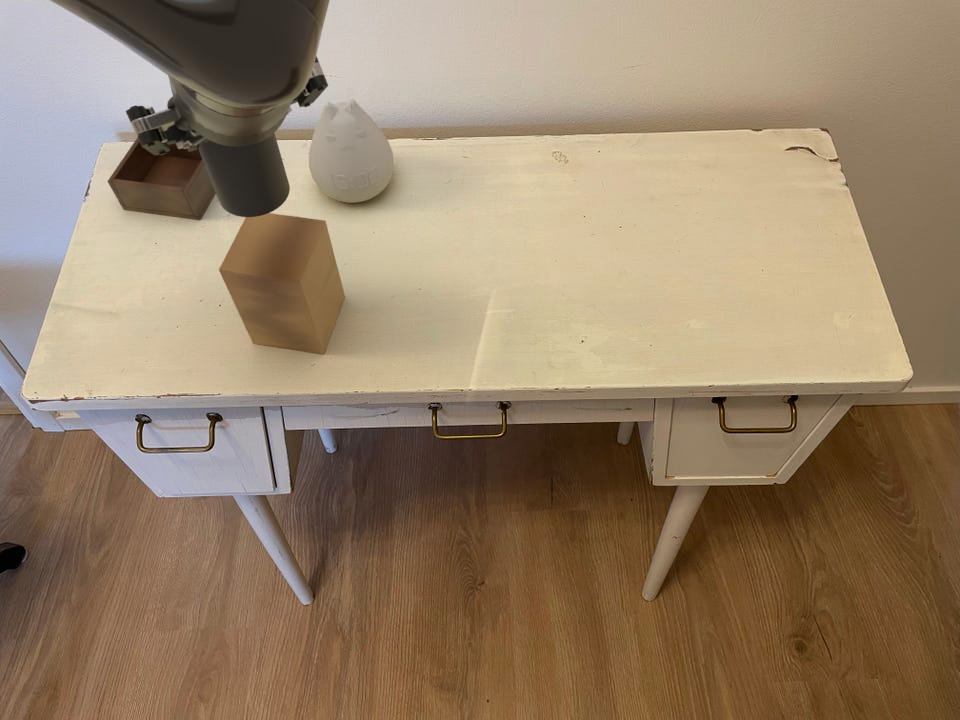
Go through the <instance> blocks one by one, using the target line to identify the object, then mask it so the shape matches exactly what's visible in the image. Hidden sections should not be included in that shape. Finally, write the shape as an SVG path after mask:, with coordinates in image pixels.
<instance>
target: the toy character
mask: <svg viewBox="0 0 960 720" xmlns="http://www.w3.org/2000/svg"><path fill="white" fill-rule="evenodd" d="M317 121H318V122H317V123H316V126H315V129H314V132H313V135H312V138H311V142H310V146H309V150H308V168H309V172H310V174H311V178H312V180H313V181H314V183H315V184H316V186H317V187H318V188H319V190H320V191H321V192H322V193H323V194H324V195H326V196H327V197H329V198H331V199H334V200H335V201H339V202H341V203H342V202H343V203H351V204H352V203H361V202H366V201H368V200H372V199H373V198H375V197H376V196H378V195H379V194H380V193H382V192H383V191H384V190H385V188H387V186H388V185H389V183H390V182H391V180H392V176H393V172H394V167H395V162H394V152H393V150H392V146H391V145H390V142H389V140H388V138H387V137H386V136H385V134H384V133H383V132H382V130H381V129H380V127H379V126H378V124H377V123H376V121H374V119H373V118H372V117H371V116H370V115H369V114H368V113H367V112H366V111H365V110H364V109H363V108H362V107H361V106H360V105H359V104H358V102H357V101H356V100H355V98H351V99H349V100H348V101H347V102H346V101H345V102H336V103H331V102H329V101H328V102H325V103H324V107H323V109H322V112H321V115H320V117H319V120H317Z"/></svg>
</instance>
